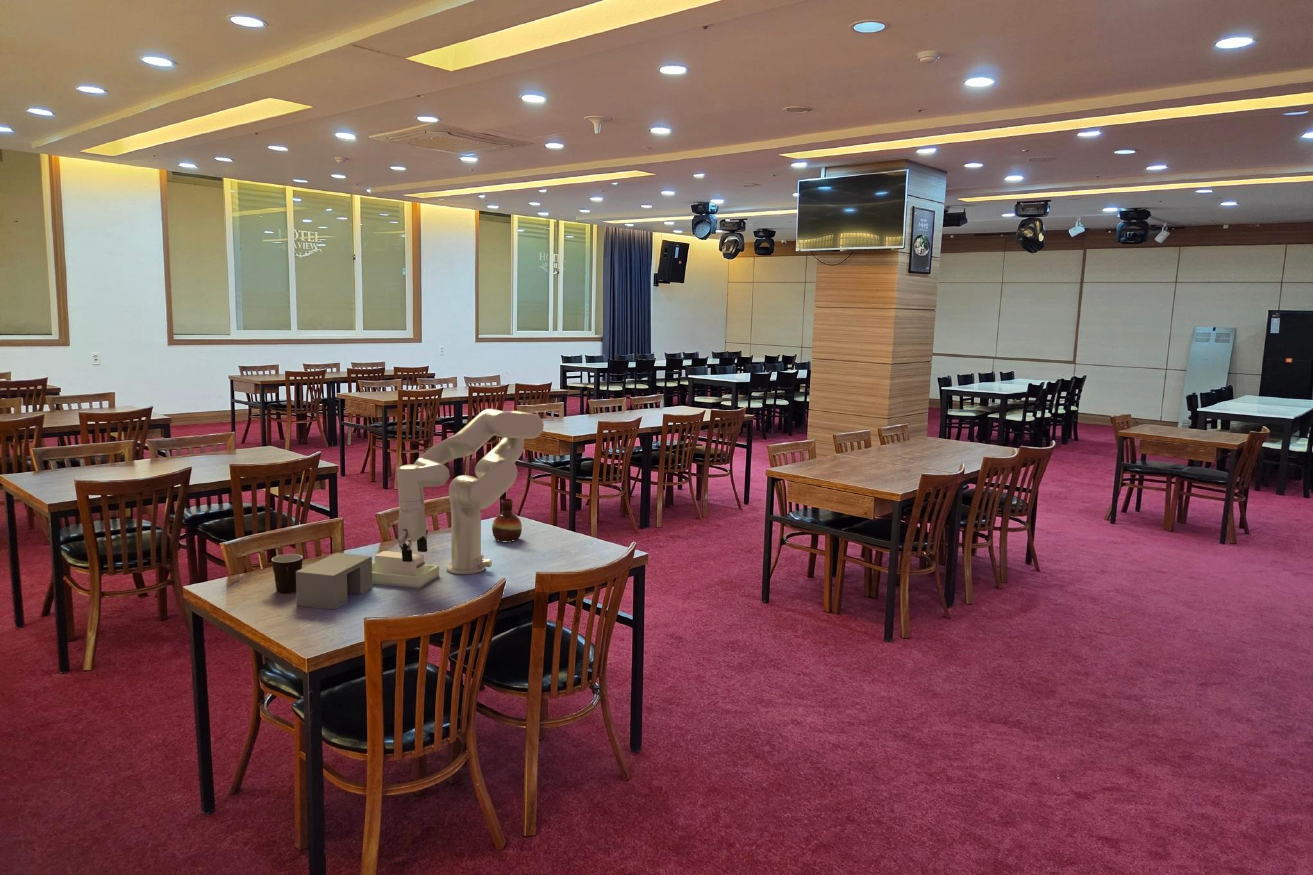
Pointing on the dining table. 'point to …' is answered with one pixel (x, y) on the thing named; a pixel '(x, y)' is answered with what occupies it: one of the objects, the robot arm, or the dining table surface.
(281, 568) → the coffee mug
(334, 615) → the dining table surface
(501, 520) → the vase
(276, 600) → the dining table surface
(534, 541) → the dining table surface
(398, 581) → the tray
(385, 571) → the tan cardboard box
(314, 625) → the dining table surface
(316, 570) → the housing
